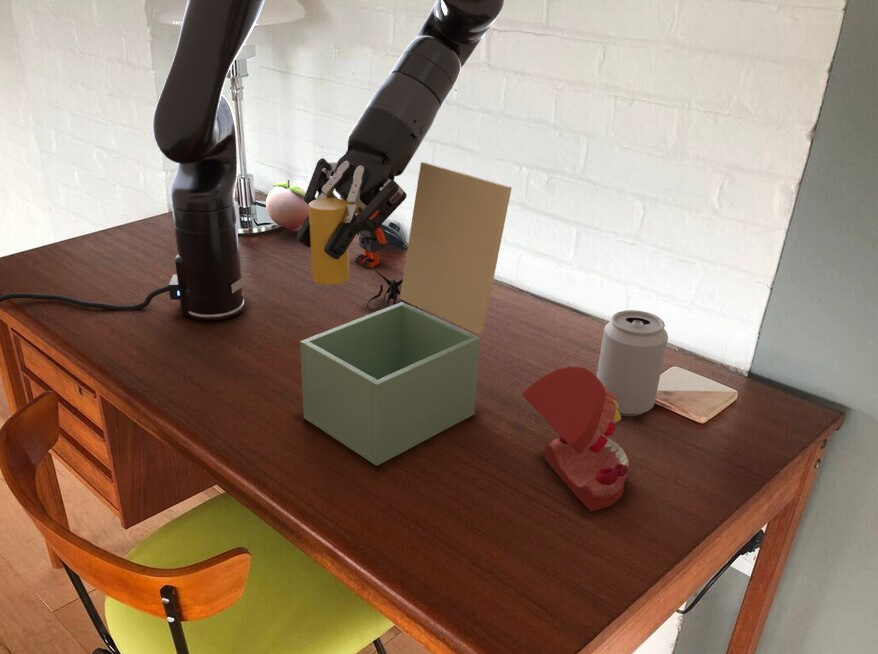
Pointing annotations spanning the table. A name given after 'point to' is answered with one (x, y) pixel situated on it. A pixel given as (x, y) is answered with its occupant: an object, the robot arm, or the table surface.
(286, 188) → the decorative fruit
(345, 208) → the round shape
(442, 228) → the lid
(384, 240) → the toy animal
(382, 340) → the green open box
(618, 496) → the anatomical model
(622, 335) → the can
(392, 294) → the creature
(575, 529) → the table surface
